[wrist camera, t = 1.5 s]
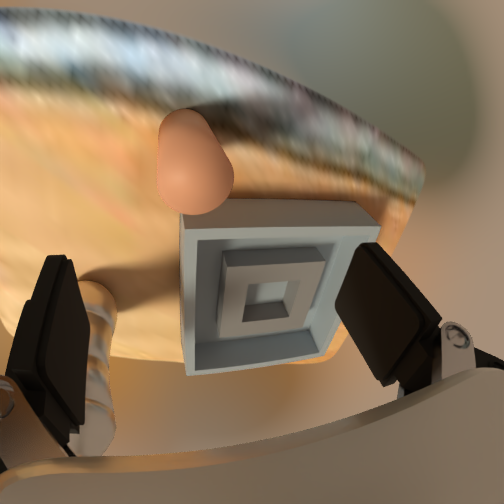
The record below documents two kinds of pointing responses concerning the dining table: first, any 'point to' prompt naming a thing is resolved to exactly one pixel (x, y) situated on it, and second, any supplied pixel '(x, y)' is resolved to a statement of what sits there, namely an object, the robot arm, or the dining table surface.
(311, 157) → the dining table surface
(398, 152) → the dining table surface
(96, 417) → the plastic bottle
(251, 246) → the grey socket tray
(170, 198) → the peg
